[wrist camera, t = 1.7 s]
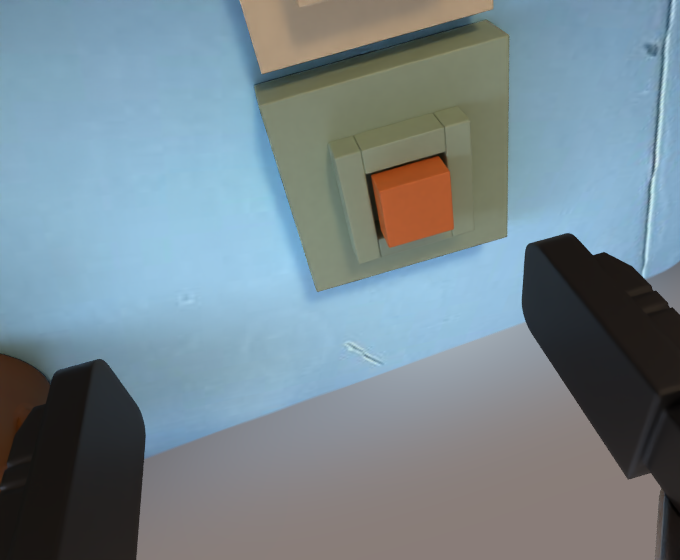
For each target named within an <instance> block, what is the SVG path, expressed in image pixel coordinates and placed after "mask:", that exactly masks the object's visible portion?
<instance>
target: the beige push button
mask: <svg viewBox="0 0 680 560" xmlns="http://www.w3.org/2000/svg"><path fill="white" fill-rule="evenodd" d="M240 4H241V7H242V10H243V14H244V17H245V20H246V24H247V27H248V31H249V34H250V37H251V41H252V44H253V47H254V51H255V54H256V57H257V61H258V64H259V67H260V71H261V73H262V74H265V73H268V72H272V71H275V70H279V69H282V68H286V67H290V66H293V65H297V64H300V63H304V62H307V61H311V60H314V59H318V58H322V57H325V56H329V55H332V54H336V53H339V52H343V51H346V50H350V49H353V48H357V47H361V46H364V45H368V44H371V43H375V42H378V41H382V40H385V39H389V38H393V37H396V36H400V35H403V34H407V33H410V32H414V31H417V30H421V29H425V28H428V27H432V26H435V25H439V24H442V23H446V22H449V21H453V20H457V19H460V18H464V17H467V16H471V15H474V14H478V13H481V12H485V11H489V10H492V9H493V0H240Z"/></svg>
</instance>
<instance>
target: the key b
mask: <svg viewBox="0 0 680 560" xmlns="http://www.w3.org/2000/svg"><path fill="white" fill-rule="evenodd" d="M371 180H372V185H373V191H374V196H375V202H376V207H377V212H378V218H379V223H380V229H381V231H382V234H383V236H384V238H385V240H386V242H387V245H388V247H389V248H391V247H395V246H398V245H402V244H405V243H409V242H412V241H416V240H419V239H422V238H426V237H429V236H433V235H436V234H440V233H443V232H447V231H450V230H453V229H454V220H453V206H452V192H451V178H450V171H449V170H448V168H447V167H446V165H445V164H444V163H443V161H442V160H441V159H440V157H439V156H434V157H431V158H427V159H424V160H420V161H417V162H413V163H410V164H407V165H403V166H400V167H396V168H393V169H389V170H386V171H382V172H379V173H375V174H372V175H371Z"/></svg>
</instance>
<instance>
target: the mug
mask: <svg viewBox="0 0 680 560" xmlns="http://www.w3.org/2000/svg"><path fill="white" fill-rule="evenodd" d="M49 389H50V384H49V382H48V381H47V379H46V378H45V377H44V375H43V374H42V373H41V372H39V371H38V370H37V369H36V368H34V367H33V366H31V365H29V364H28V363H26V362H24V361H21V360H19V359H16V358H14V357H11V356H7V355H3V354H0V484H1V481H2V477H3V474H4V470H5V469H7V468H8V466H7V460H8V457H9V453H10V450H11V446H12V443H13V439H14V436H15V434H16V432H17V431H18V430H19V428H20V427H21V425H22V424H23V422H24V421H25V419H26V418H27V416H28V415H29V413H30V412H31V410H32V409H33V407H35V406H39V405H43V404H46V400H47V397H48V393H49ZM0 493H1V490H0Z"/></svg>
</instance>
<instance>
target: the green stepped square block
mask: <svg viewBox="0 0 680 560" xmlns="http://www.w3.org/2000/svg"><path fill="white" fill-rule="evenodd" d="M254 89H255V93H256V98H257V102H258V106H259V110H260V113H261V116H262V119H263V122H264V125H265V129H266V132H267V135H268V138H269V141H270V145H271V148H272V151H273V154H274V157H275V160H276V164H277V167H278V170H279V173H280V176H281V180H282V183H283V186H284V189H285V192H286V195H287V199H288V202H289V205H290V208H291V211H292V215H293V218H294V221H295V224H296V227H297V230H298V234H299V237H300V240H301V243H302V246H303V250H304V253H305V256H306V259H307V262H308V265H309V269H310V272H311V275H312V278H313V281H314V285H315V288H316V291H317V292H319V291H323V290H326V289H330V288H333V287H336V286H340V285H343V284H347V283H350V282H354V281H357V280H360V279H364V278H367V277H371V276H374V275H378V274H381V273H384V272H388V271H391V270H395V269H398V268H402V267H405V266H408V265H412V264H415V263H419V262H422V261H426V260H429V259H432V258H436V257H439V256H443V255H446V254H450V253H453V252H456V251H460V250H463V249H467V248H470V247H474V246H477V245H480V244H484V243H487V242H491V241H494V240H498V239H501V238H504V237H507V204H508V110H509V35H508V34H507V33H506V32H504V31H503V30H501V29H500V28H498V27H497V26H495V25H494V24H492V23H491V22H489V21H488V20H484V21H480V22H477V23H473V24H470V25H466V26H463V27H459V28H456V29H452V30H448V31H445V32H441V33H438V34H434V35H431V36H427V37H424V38H420V39H416V40H413V41H409V42H406V43H402V44H399V45H395V46H392V47H388V48H385V49H381V50H377V51H374V52H370V53H367V54H363V55H360V56H356V57H353V58H349V59H345V60H342V61H338V62H335V63H331V64H328V65H324V66H321V67H317V68H314V69H310V70H306V71H303V72H299V73H296V74H292V75H289V76H285V77H282V78H278V79H275V80H271V81H267V82H264V83H260V84H257V85H255V86H254ZM434 156H439V157H440V159H441V160H442V161H443V163H444V164H445V165H446V167H447V168H448V170H449V171H450V178H451V192H452V206H453V220H454V229H453V230H450V231H447V232H443V233H440V234H436V235H433V236H429V237H426V238H422V239H419V240H416V241H412V242H409V243H405V244H402V245H398V246H395V247H391V248H389V247H388V245H387V242H386V240H385V238H384V236H383V234H382V231H381V229H380V223H379V218H378V212H377V207H376V202H375V196H374V191H373V185H372V180H371V175H372V174H375V173H379V172H382V171H386V170H389V169H393V168H396V167H400V166H403V165H407V164H410V163H413V162H417V161H420V160H424V159H427V158H431V157H434Z"/></svg>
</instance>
